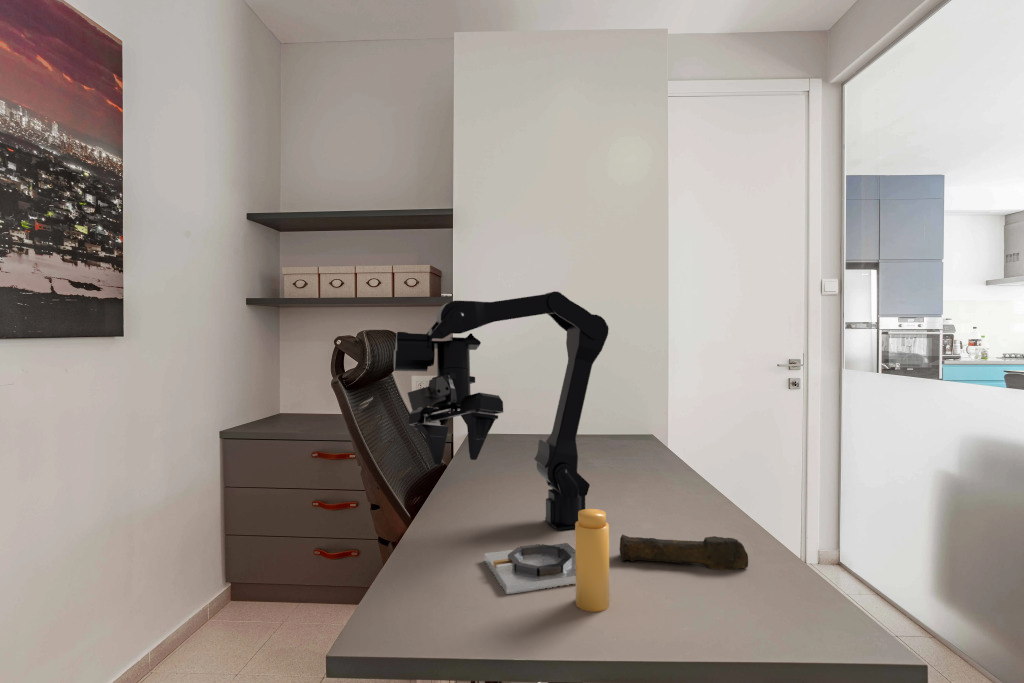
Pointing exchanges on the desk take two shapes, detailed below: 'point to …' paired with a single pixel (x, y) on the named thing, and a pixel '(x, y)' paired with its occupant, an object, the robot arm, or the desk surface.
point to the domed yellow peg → (592, 560)
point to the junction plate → (533, 567)
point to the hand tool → (686, 551)
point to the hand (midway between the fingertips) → (455, 462)
